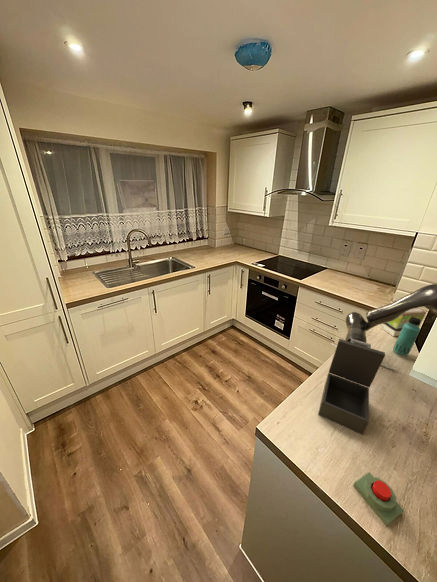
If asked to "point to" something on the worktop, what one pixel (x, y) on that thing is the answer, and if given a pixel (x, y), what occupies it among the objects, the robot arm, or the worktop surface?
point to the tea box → (402, 321)
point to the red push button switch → (382, 508)
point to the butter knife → (381, 363)
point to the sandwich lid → (356, 361)
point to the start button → (381, 490)
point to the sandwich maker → (345, 403)
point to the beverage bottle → (407, 337)
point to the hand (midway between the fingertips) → (353, 364)
